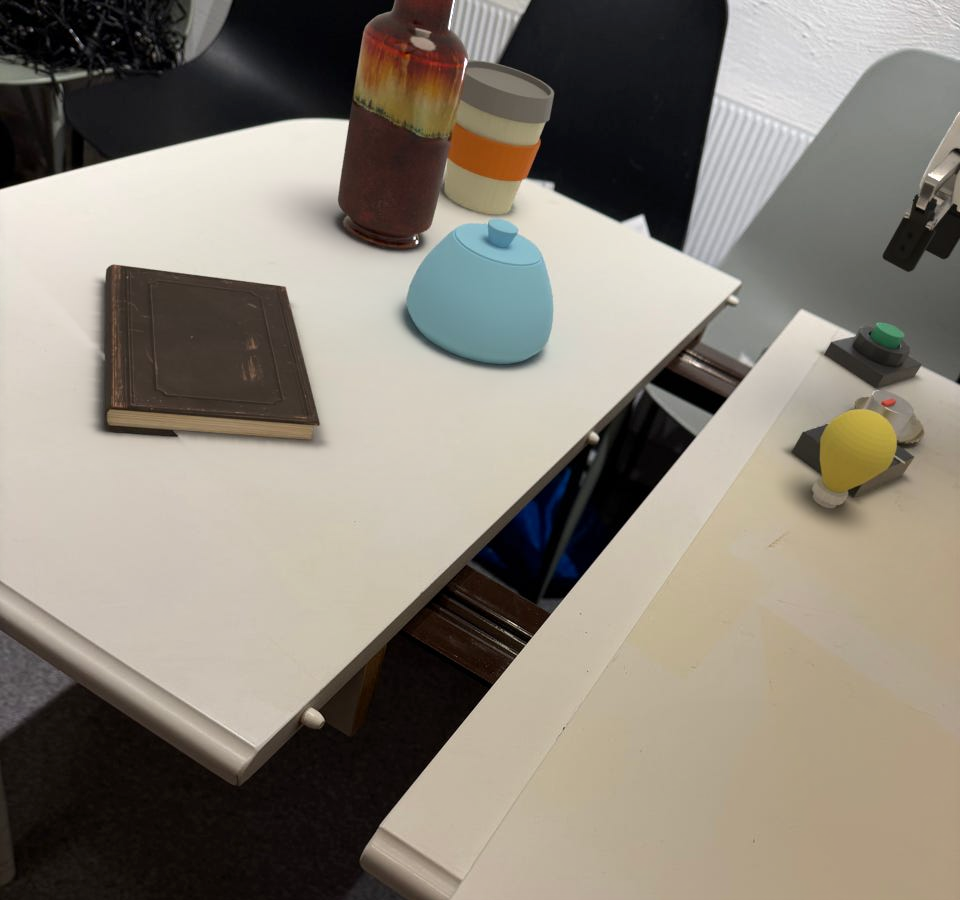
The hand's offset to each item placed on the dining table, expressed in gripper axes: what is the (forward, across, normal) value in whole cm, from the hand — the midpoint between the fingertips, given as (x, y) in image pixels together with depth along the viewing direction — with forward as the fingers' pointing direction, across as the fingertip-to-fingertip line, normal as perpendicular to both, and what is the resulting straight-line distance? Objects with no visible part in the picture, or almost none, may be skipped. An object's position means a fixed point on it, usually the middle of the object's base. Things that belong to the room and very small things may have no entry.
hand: (915, 258), depth 95 cm
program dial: (+15, -5, -7) cm, 18 cm away
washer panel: (+18, -7, -6) cm, 21 cm away
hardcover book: (+19, -56, +35) cm, 69 cm away
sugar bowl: (+19, -27, +29) cm, 44 cm away
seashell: (+19, +6, -5) cm, 20 cm away
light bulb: (+19, -16, -8) cm, 26 cm away
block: (+18, +20, +3) cm, 28 cm away
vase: (+19, -20, +51) cm, 58 cm away
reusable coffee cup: (+19, +2, +55) cm, 58 cm away
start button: (+15, +20, +3) cm, 25 cm away
